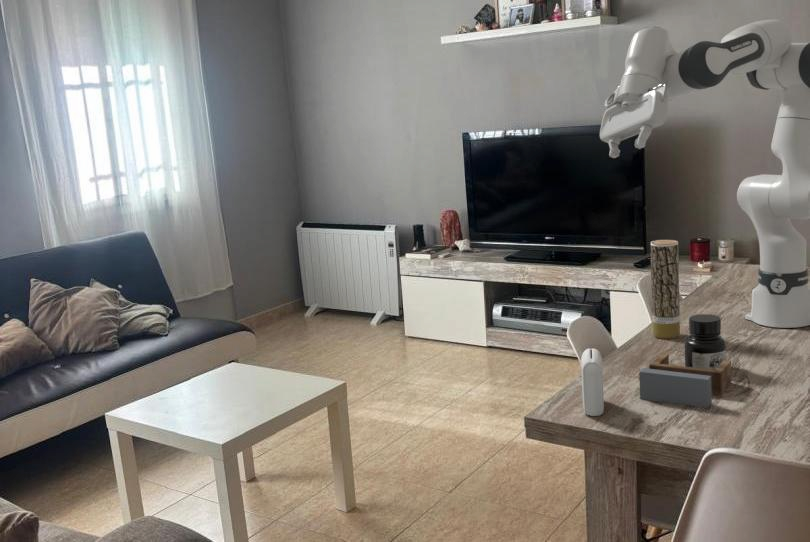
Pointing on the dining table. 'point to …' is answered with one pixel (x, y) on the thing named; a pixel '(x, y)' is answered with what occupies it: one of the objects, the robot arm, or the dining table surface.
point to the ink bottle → (704, 342)
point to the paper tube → (665, 288)
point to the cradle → (699, 372)
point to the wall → (675, 387)
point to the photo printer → (592, 382)
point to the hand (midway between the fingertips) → (626, 152)
